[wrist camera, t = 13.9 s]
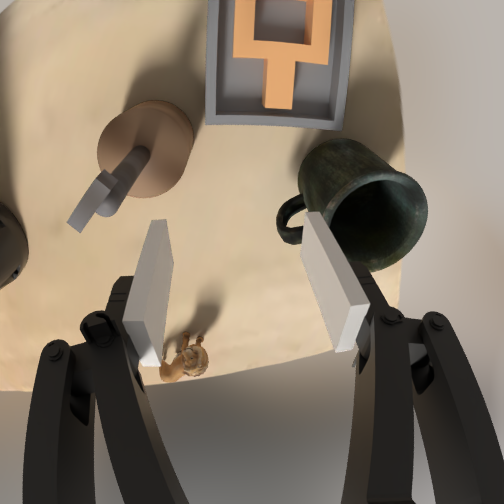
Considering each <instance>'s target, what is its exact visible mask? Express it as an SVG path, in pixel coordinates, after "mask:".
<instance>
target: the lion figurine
mask: <svg viewBox="0 0 504 504" xmlns="http://www.w3.org/2000/svg"><path fill="white" fill-rule="evenodd" d="M189 337H190V334H189V333H188V332H184V333H183V345H182V350H181V352H179V353H177V355H176V357H175V358H174V360H173V362H172V364H171V365H168V364H167V363H166V362H165V361H164V360H162V361H161V366H159V372H160V377H161V379H162V380H163V381H164V382H176V381H177V380H178V379H179V378H181V377H182V376H184V375H185V374H186V375H188V376H194V377H195V376H200V375H201V374H203V373H204V372H205V371H206V369H207V368H208V363H209V361H208V355H207V353H206V351H205V349H203V347H201V342H203V338H202V337H198V338H197V339H196V344H193V345H190V346H188V342H189ZM162 356H163V352H162Z"/></svg>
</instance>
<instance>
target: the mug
mask: <svg viewBox="0 0 504 504" xmlns="http://www.w3.org/2000/svg"><path fill="white" fill-rule="evenodd" d="M298 188H299V192H300V194H299V195H297V196H295V197H293V198H291V199H289V200H288V201H286V202H285V203H284V204H283V205H282V206H281V208H280V209H279V211H278V214H277V217H276V225H277V230H278V233H279V235H280V236H281V238H282V239H283V241H284V242H286V243H289V244H292V245H296V244H302V236H303V227H304V226H299V227H293V228H289V227H286V225H287V223H288V221H289V219H290V218H291V217H292V216H293V215H295V214H296V213H298V212H300V211H302V210H304V209H306V208H307V209H308V211H309V212H320V214H321V215H322V217H323V219H324V220H325V222H326V224H327V226H328V227H329V229H330V231H331V232H332V234H333V236H334V238H335V239H336V241H337V243H338V245H339V246H340V248H341V250H342V252H343V254H344V255H345V257H346V259H347V261H348V262H355V261H360V262H361V263H362V264H363V265H364V266H366V267H367V268H368V270H369V272H375V271H379V270H382V269H384V268H387V267H389V266H391V265H392V264H394V263H396V262H397V261H399V260H400V259H402V258H403V257H404V256H405V255H406V254H407V253H409V252H410V250H411V249H412V248H413V247H414V246H415V244H416V243H417V242H418V240H419V238H420V237H421V235H422V233H423V231H424V228H425V225H426V221H427V216H428V205H427V200H426V196H425V194H424V192H423V190H422V188H421V186H420V185H419V184H418V183H417V182H416V181H415V180H414V179H413V178H412V177H410V176H408V175H407V174H405V173H402V172H399V171H396V170H395V169H394V168H392V167H391V166H390V165H389V164H387V163H386V162H385V161H384V160H382V159H381V158H380V157H378V156H377V155H376V154H374V153H373V152H372V151H370V150H369V149H368V148H366V147H365V146H364V145H362V144H361V143H359V142H357V141H353V140H349V139H336V140H331V141H328V142H325V143H323V144H321V145H319V146H318V147H316V148H315V149H314V150H312V151H311V153H310V154H309V155H308V156H307V157H306V158H305V160H304V161H303V163H302V165H301V168H300V171H299V175H298Z"/></svg>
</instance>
